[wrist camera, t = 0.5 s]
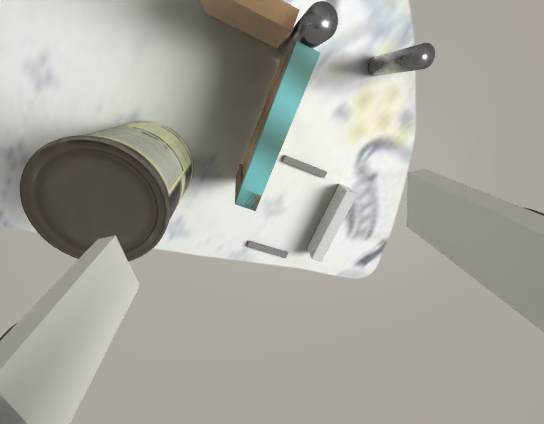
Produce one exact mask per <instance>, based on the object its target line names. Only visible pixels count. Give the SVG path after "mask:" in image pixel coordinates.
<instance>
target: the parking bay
mask: <svg viewBox="0 0 544 424" xmlns="http://www.w3.org/2000/svg"><path fill="white" fill-rule="evenodd" d="M283 162H285V163H287V164H290V165H292V166H295V167H298V168H300V169H303V170H305V171H308V172H310V173H313V174H316V175H318V176H321V177H323V178H325V176H326V174H327V172H326V171H324V170H321V169H319V168H316V167H314V166H311V165H309V164H306V163H303V162H301V161H298V160H296V159H293V158H291V157H288V156H286V155H285V156H284V158H283ZM356 196H357V194H356V193H355V192H353V191H352V190H351V189H350V188H349V187H346V186H344V185H341V184H339V185H338V187H337V189H336V191H335V193H334V195H333V197H332V199H331V201H330V203H329V205H328V207H327V209H326V211H325V213H324V215H323V217H322V219H321V221H320V223H319V225H318V227H317V229H316V231H315V233H314V235H313V237H312V239H311V241H310V243H309V245H308V247H307V249H308V251H309V254H310V256H311V258H312V259H314V260H318V261H322V260H323V258H324V256H325V254H326V252H327V250H328V248H329V246H330V245H331V243H332V241H333V239H334V237H335V235H336V233H337V232H338V230H339V228H340V226H341V224H342V222H343V220H344V218H345V217H346V215H347V213H348V211H349V209H350V207H351V205H352V204H353V202H354V200H355V198H356ZM247 247H249V248H252V249H256V250H259V251H263V252H266V253H269V254H273V255H276V256H280V257H283V258H286V257H287V255H288V253H287V252H285V251H282V250H279V249H275V248H272V247H269V246H265V245H262V244H259V243H255V242H252V241H249V242H248V244H247Z"/></svg>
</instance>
